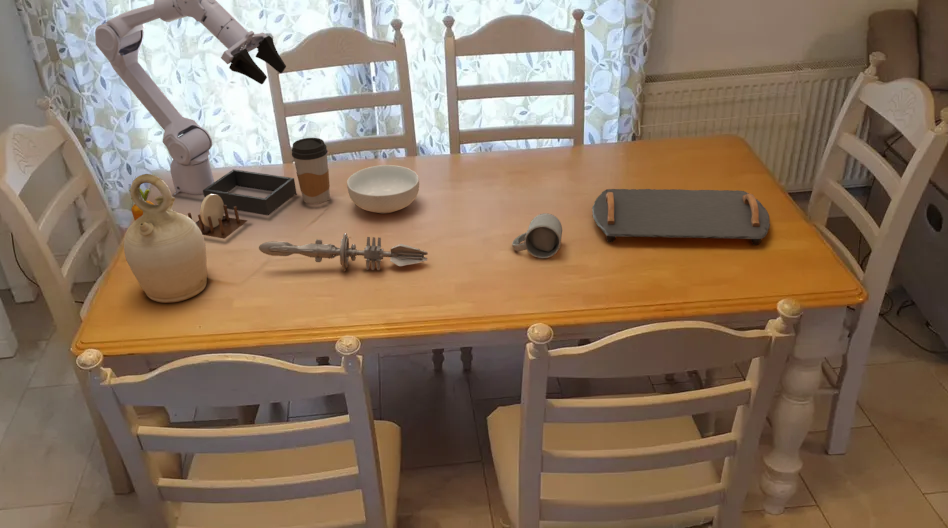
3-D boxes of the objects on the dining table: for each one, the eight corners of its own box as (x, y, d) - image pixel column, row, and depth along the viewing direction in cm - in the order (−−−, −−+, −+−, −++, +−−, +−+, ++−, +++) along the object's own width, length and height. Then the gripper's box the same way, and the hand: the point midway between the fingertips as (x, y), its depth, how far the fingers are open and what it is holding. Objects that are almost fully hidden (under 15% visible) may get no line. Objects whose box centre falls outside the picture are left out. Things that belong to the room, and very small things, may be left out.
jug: (170, 263, 183) (140, 155, 169) (229, 275, 178) (203, 164, 164) (121, 299, 172) (84, 186, 157) (183, 313, 166) (151, 197, 152)
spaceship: (262, 226, 178) (254, 230, 171) (428, 235, 181) (428, 239, 173) (262, 264, 180) (254, 269, 172) (426, 272, 182) (426, 277, 175)
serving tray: (592, 246, 183) (594, 220, 179) (590, 199, 202) (592, 174, 198) (776, 249, 179) (782, 223, 176) (757, 201, 198) (761, 176, 194)
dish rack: (184, 235, 193) (179, 215, 190) (208, 218, 200) (203, 198, 197) (225, 243, 190) (220, 222, 187) (248, 225, 197) (244, 204, 194)
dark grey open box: (207, 209, 204) (202, 190, 201) (237, 188, 214) (233, 169, 211) (269, 219, 199) (265, 199, 196) (297, 197, 208) (294, 178, 205)
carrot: (171, 246, 189) (154, 184, 181) (155, 256, 186) (138, 194, 177) (154, 242, 191) (136, 181, 183) (138, 252, 188) (120, 190, 179)
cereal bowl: (337, 216, 199) (333, 188, 195) (370, 187, 211) (367, 161, 207) (402, 227, 193) (399, 198, 189) (432, 196, 206) (430, 169, 202)
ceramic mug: (562, 241, 185) (563, 209, 181) (560, 259, 179) (560, 227, 174) (514, 239, 187) (513, 208, 182) (510, 258, 180) (509, 225, 176)
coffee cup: (337, 195, 208) (330, 136, 200) (330, 210, 202) (321, 150, 193) (304, 194, 209) (295, 136, 201) (295, 209, 202) (285, 150, 194)
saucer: (204, 232, 192) (196, 202, 187) (223, 218, 197) (217, 188, 193) (207, 233, 191) (200, 203, 187) (227, 218, 197) (220, 188, 193)
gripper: (213, 25, 175) (263, 73, 177) (253, 7, 186) (299, 52, 188) (201, 49, 180) (249, 95, 181) (240, 30, 190) (285, 74, 192)
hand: (274, 75), depth 185 cm, fingers open, 7 cm apart
